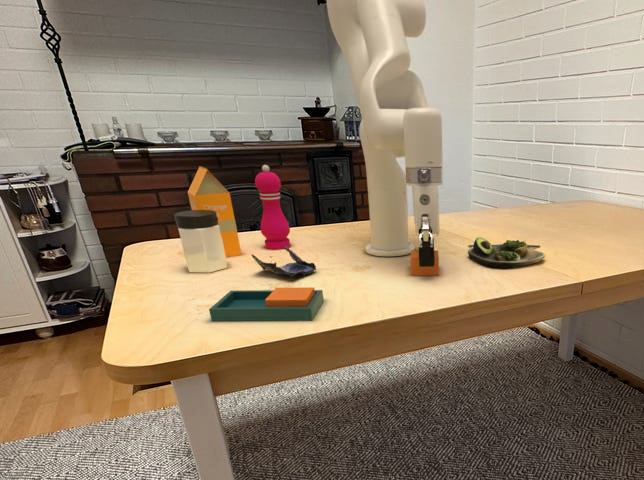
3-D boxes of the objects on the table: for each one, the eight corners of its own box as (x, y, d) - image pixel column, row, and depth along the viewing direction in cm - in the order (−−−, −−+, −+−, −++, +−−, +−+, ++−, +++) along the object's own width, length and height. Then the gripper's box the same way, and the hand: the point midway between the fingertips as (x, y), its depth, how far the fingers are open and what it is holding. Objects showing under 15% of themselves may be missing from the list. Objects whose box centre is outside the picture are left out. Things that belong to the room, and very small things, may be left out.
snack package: (299, 263, 109) (249, 271, 102) (298, 237, 106) (246, 243, 99) (323, 284, 102) (271, 294, 95) (323, 256, 99) (269, 264, 92)
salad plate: (521, 245, 126) (522, 228, 124) (563, 262, 112) (565, 242, 110) (457, 253, 118) (457, 235, 116) (494, 271, 104) (495, 251, 102)
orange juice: (208, 259, 112) (187, 169, 102) (200, 251, 118) (180, 166, 109) (242, 254, 116) (225, 167, 107) (233, 247, 122) (216, 165, 113)
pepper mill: (282, 242, 128) (270, 163, 119) (297, 246, 124) (286, 164, 115) (258, 246, 123) (243, 164, 114) (273, 251, 119) (259, 166, 110)
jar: (230, 270, 104) (218, 214, 98) (189, 275, 100) (174, 217, 95) (225, 260, 111) (214, 208, 105) (186, 265, 107) (173, 211, 102)
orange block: (411, 267, 107) (411, 250, 105) (438, 267, 107) (438, 250, 105) (411, 275, 101) (410, 257, 99) (438, 275, 101) (438, 257, 100)
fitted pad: (278, 300, 85) (276, 287, 84) (315, 300, 85) (314, 287, 84) (267, 314, 79) (264, 300, 78) (307, 313, 79) (305, 299, 78)
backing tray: (233, 301, 86) (230, 290, 85) (323, 300, 87) (322, 289, 86) (211, 321, 78) (208, 309, 77) (312, 320, 78) (310, 308, 77)
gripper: (444, 179, 87) (445, 270, 94) (441, 174, 103) (443, 252, 110) (403, 180, 87) (408, 271, 94) (407, 174, 102) (411, 252, 110)
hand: (427, 260), depth 102 cm, fingers open, 9 cm apart
